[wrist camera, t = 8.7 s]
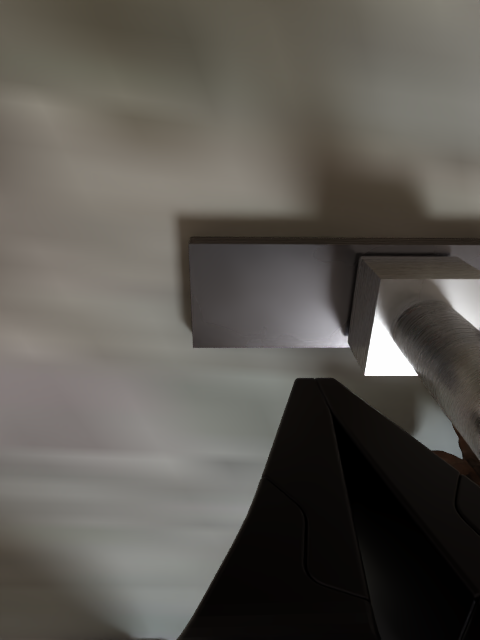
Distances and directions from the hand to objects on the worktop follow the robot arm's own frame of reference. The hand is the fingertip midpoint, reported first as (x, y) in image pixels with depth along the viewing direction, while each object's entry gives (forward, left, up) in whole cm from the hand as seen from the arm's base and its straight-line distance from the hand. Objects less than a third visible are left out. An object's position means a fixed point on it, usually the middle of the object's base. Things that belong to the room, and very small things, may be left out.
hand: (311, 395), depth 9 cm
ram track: (0, -4, -6) cm, 7 cm away
